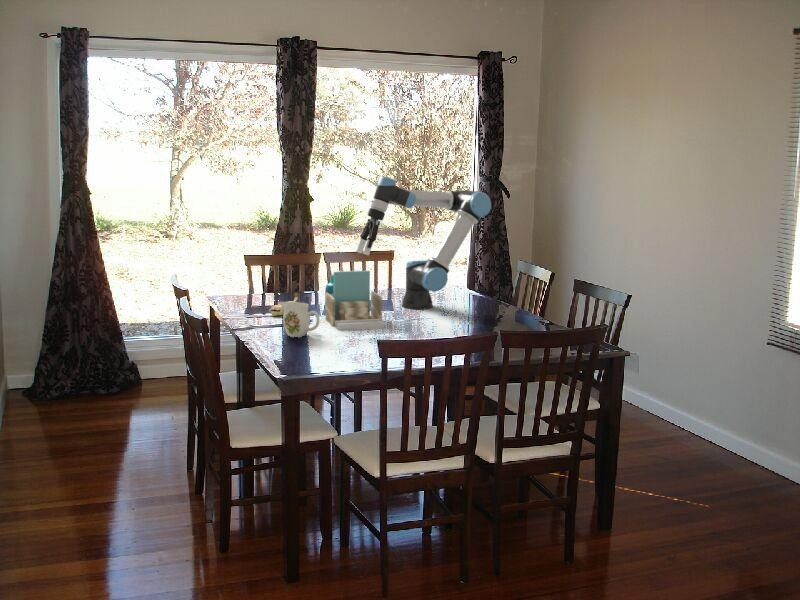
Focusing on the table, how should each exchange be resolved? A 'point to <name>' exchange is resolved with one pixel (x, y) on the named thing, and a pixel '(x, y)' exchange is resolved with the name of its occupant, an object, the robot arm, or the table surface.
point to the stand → (359, 324)
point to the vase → (330, 288)
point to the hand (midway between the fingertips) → (362, 253)
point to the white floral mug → (297, 318)
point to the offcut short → (356, 313)
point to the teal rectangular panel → (351, 287)
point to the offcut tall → (351, 306)
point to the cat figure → (280, 307)
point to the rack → (375, 314)
